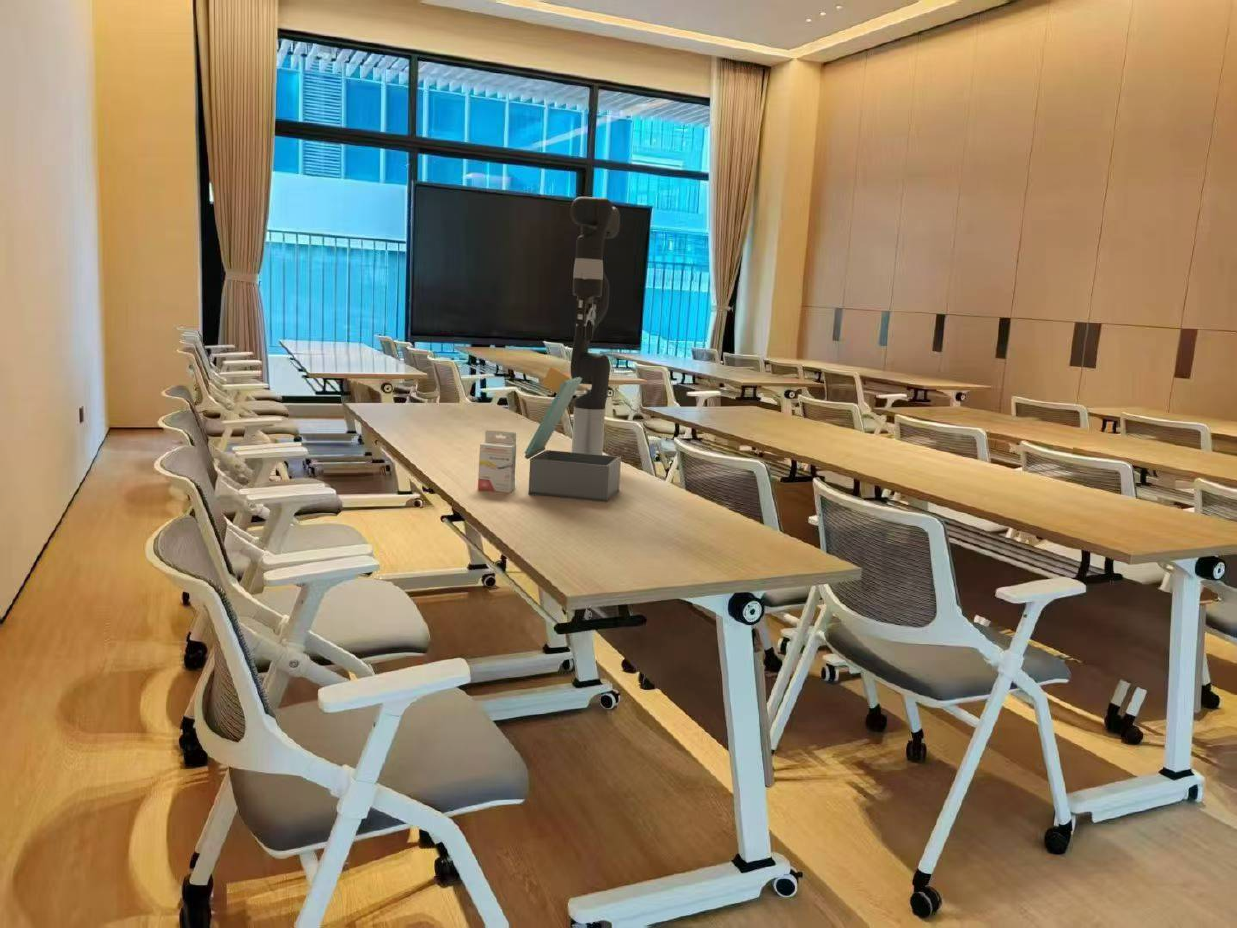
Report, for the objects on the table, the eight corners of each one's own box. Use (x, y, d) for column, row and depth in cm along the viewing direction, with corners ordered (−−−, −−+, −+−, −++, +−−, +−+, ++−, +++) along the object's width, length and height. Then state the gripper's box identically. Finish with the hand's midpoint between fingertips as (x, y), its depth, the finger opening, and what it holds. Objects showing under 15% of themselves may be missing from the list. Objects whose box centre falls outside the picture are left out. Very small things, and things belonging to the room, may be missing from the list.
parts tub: (545, 483, 250) (546, 449, 248) (618, 490, 246) (621, 456, 245) (528, 494, 234) (530, 458, 233) (606, 502, 231) (609, 466, 229)
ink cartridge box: (477, 490, 236) (479, 432, 233) (482, 486, 240) (484, 429, 238) (510, 492, 235) (513, 434, 232) (514, 489, 240) (517, 432, 237)
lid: (544, 450, 249) (520, 436, 249) (584, 379, 244) (559, 365, 244) (527, 460, 232) (501, 444, 233) (568, 384, 228) (542, 368, 228)
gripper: (580, 277, 249) (576, 339, 251) (567, 275, 235) (563, 340, 237) (607, 279, 247) (604, 341, 250) (596, 277, 233) (592, 342, 236)
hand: (584, 341), depth 244 cm, fingers open, 8 cm apart
